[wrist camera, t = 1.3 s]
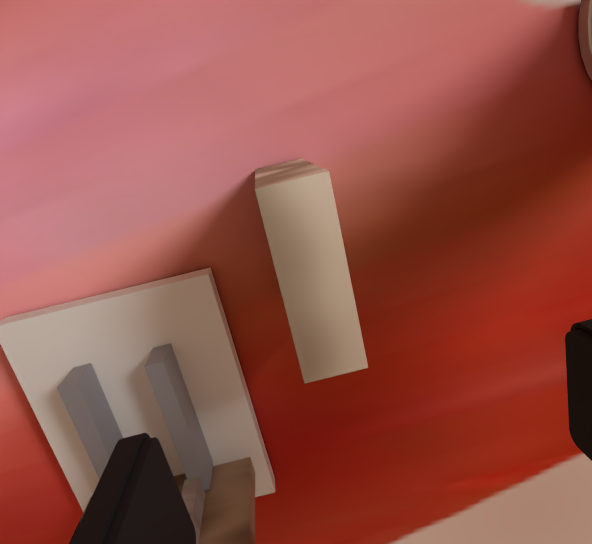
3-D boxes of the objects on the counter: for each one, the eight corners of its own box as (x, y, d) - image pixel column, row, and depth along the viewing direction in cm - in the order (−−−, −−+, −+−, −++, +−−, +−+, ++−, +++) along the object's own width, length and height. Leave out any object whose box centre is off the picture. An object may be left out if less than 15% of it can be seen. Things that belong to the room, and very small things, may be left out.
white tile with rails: (210, 267, 29) (203, 287, 25) (274, 477, 35) (276, 519, 31) (5, 317, 29) (-34, 345, 25) (102, 520, 34) (83, 568, 31)
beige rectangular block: (301, 158, 28) (329, 171, 17) (329, 288, 30) (368, 367, 20) (255, 169, 27) (254, 189, 17) (287, 298, 30) (304, 383, 20)
